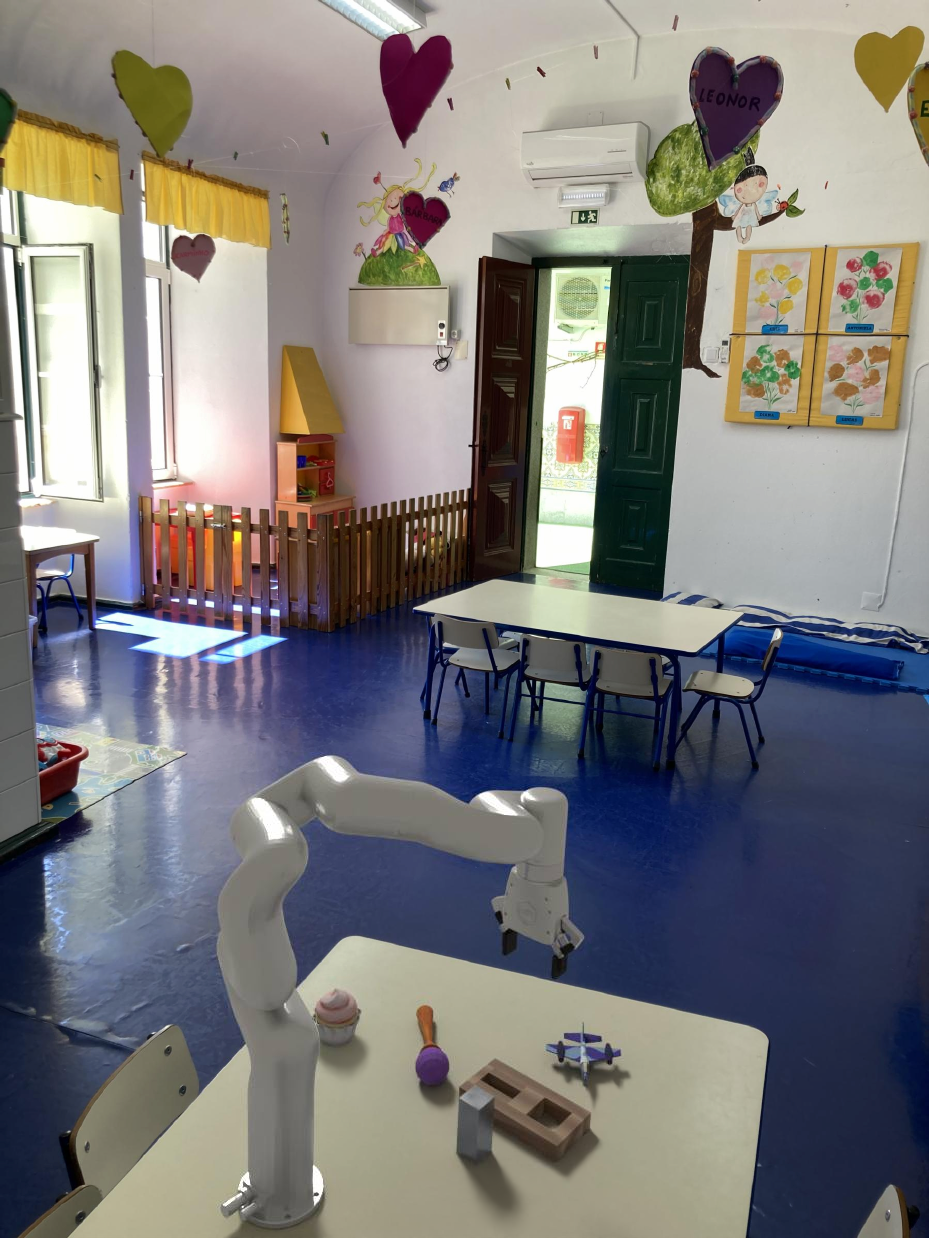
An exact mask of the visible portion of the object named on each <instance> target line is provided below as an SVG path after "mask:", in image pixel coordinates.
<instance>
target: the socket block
mask: <svg viewBox="0 0 929 1238" xmlns="http://www.w3.org/2000/svg"><path fill="white" fill-rule="evenodd" d="M474 1085H476V1086H477V1087H479V1088H481V1089H482V1090H484V1091H486V1092H487V1093H489V1094H491V1095H492V1096H494V1097H495V1101H494V1118H493V1125H495V1126H496V1127H498V1128H500V1129H501V1130H503V1131H505V1132H506V1133H508V1134H509V1135H511V1136H513V1137H514V1138H515V1139H517V1140H519V1141H521V1142H523V1143H524V1144H526V1145H527V1146H529V1147H530V1148H532V1149H534V1150H535V1151H537V1152H538V1153H540V1154H542V1155H543V1156H545V1157H547V1158H548V1159H550V1160H551V1161H553V1162H555V1163H557V1162H558V1161H559V1160H560V1159H561V1158H562V1157H563V1156H564V1155H565V1154H566V1153H567V1152H568V1151H569V1150H570V1149H571V1148H572V1147H573V1146H574V1145H575V1144H576V1143H577V1141H579V1140H580V1139H581V1137H583V1136H584V1135H585V1134H586V1133H587V1131H589V1129H590V1128H591V1119H592V1118H591V1117H592V1112H591V1111H589V1110H588V1109H586V1108H584V1107H583V1106H581V1105H579V1104H577V1103H575V1102H573V1101H572V1100H570V1099H568V1098H566V1097H565V1096H564V1095H561V1094H559V1093H558V1092H555V1091H554V1090H552V1089H550V1087H548V1086H545V1085H543V1084H542V1083H540V1082H539V1081H536V1080H535V1079H533V1078H531V1077H529V1076H528V1075H526V1074H524V1073H523V1072H520V1071H519V1070H517V1069H516V1068H514V1067H511V1066H510V1065H508V1064H506V1063H504V1062H503V1061H501V1060H500V1059H497V1058H496V1057H495V1058H493V1059H492V1060H490V1062H488V1063H487V1064H486V1065H485V1066H483V1067H482V1068H481V1069H479V1070H478V1071H477V1072H476V1073H474V1075H472V1076H471V1077H469V1079H467V1080H466V1081H465V1082H463V1083H462V1084H461V1085H459V1086H458V1099H459V1098H460V1097H461V1096H462V1095H463V1094H464V1093H466V1092H467V1091H468V1090H469V1089H471V1088H472V1087H473V1086H474ZM543 1114H545V1115H547V1116H548V1117H550V1118H551V1119H554V1120H555V1121H557V1122H559V1123H560V1124H559V1125H558V1126H557V1127H556V1128H555V1129H554V1130H552V1129H550V1128H549V1127H548V1126H546V1125H544V1124H543V1123H540V1122H539V1121H537V1119H538V1118H540V1117H541V1116H542V1115H543Z"/></svg>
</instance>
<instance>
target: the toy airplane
mask: <svg viewBox="0 0 929 1238" xmlns="http://www.w3.org/2000/svg"><path fill="white" fill-rule="evenodd" d="M581 1025H582V1026H581V1032H564V1033H563V1039H565V1040H568V1041H572V1042H575V1043H578V1044H580V1045H579V1046H577V1045H567V1044H566V1045H565V1044H564V1042H563V1040H558V1042H557V1043H556V1044H553V1043H546V1044H545V1050H546V1051H547V1052H549V1053H551V1054H555V1055H557V1056H556V1057H557V1059H558V1060H557V1061H558V1062H559V1063H561V1064H562V1063H564V1062H565V1058H566V1059H569V1060H571V1061H573V1062H577V1063H579V1068H580V1070H581V1077H583V1078H582V1080H581V1082H582V1085H584V1086H586V1085H587V1082H588V1075H589V1070H590V1063H591V1062H597V1061H602V1060H605V1061H606V1064H607V1065H608V1066H612V1065H613V1059H614V1058H619V1057H622V1050H621V1048H613V1047H612V1046H611V1043H609V1042H607V1043H606V1044H605V1046H604V1047H600V1046H589V1045H586V1044H591V1043H592V1044H594V1043H595V1044H596V1043H602V1042H603V1037H602V1036H601V1035H598V1034H592V1033H587V1032H586V1033H585V1032H584V1031H585V1028H584V1027H585V1023H584V1021H582V1024H581ZM585 1091H586V1092H587V1091H588V1090H587V1087H585Z"/></svg>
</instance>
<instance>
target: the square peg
mask: <svg viewBox="0 0 929 1238" xmlns="http://www.w3.org/2000/svg"><path fill="white" fill-rule="evenodd" d="M494 1101H495V1097H494V1096H492V1095H491V1094H489V1093H487V1092H486V1091H484V1090H482V1089H481V1088H479V1087H477V1086H476V1085H474V1086H473V1087H472V1088H471V1089H469V1090H468V1091H467V1092H466V1093H464V1094H463V1095H462V1096H461V1097H460V1098H459V1097H458V1108H457V1109H458V1112H457V1113H458V1114H457V1129H456V1130H457V1131H456V1148H455V1149H456V1151H455V1152H456V1154H458V1155H459V1156H461V1157H462V1158H463V1159H465V1160H467V1161H468V1162H469V1163H471V1164H472V1165H475V1166H477V1165H478V1164H479V1163H480V1162H482V1160H484V1159H485V1158H486V1157H487V1156H488V1155H489V1154H490V1153H492V1151H493V1150H492V1147H493V1134H494V1133H493V1132H494V1124H493V1118H494Z"/></svg>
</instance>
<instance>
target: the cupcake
mask: <svg viewBox="0 0 929 1238" xmlns="http://www.w3.org/2000/svg"><path fill="white" fill-rule="evenodd" d="M312 1010H313V1014H312V1015H311V1017H312V1019H313V1021H314V1023H315V1026H316V1028H317V1032H318V1036H319V1040H320V1041H321V1042H322V1043H323V1044H324V1045H327V1046H330V1047H342V1046H345V1045H347V1044H349V1043H351V1041H352V1039H353V1038H354V1036H355V1034H356V1029H357V1026H358V1024H359V1022H360V1020H361V1014H362V1012H363V1010H362V1009H361V1008H359V1004H358V1003H357V1001H356V999H355V997H354V996H353V995H352V994H351V993H350V992H348V991H346V990H343V989H341V988H336V987H335V988H334V989H332V990H330V991H328V992H327V993H325V994H324V995H323V996H322V997H321V998H319V999H318V1000H317V1002H316V1004H315V1006H314V1007H313V1009H312Z"/></svg>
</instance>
